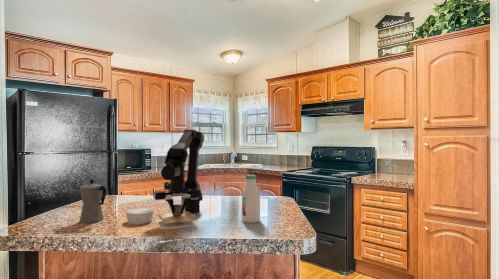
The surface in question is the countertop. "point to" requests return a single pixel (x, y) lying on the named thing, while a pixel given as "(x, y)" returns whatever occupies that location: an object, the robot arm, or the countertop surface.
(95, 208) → the coffeepot
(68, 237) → the countertop surface
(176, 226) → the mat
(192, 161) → the robot arm
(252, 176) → the milk bottle
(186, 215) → the board
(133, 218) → the ramekin
